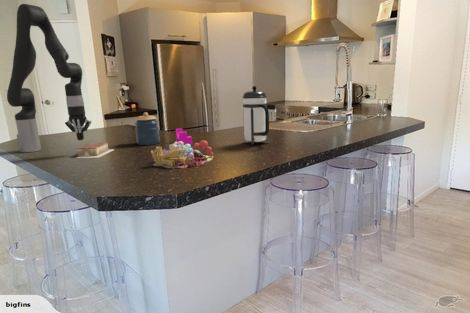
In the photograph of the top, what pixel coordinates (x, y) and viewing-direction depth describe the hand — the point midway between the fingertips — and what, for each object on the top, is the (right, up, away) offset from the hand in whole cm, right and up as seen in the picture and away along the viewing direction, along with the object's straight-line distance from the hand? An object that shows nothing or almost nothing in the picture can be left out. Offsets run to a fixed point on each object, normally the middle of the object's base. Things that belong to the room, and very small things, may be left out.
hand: (80, 140), depth 166 cm
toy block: (+49, -1, +20) cm, 53 cm away
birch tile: (+1, -5, +1) cm, 5 cm away
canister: (+28, -1, +24) cm, 37 cm away
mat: (+7, -7, +1) cm, 10 cm away
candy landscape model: (+54, -11, -21) cm, 59 cm away
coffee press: (+89, -1, +12) cm, 90 cm away
